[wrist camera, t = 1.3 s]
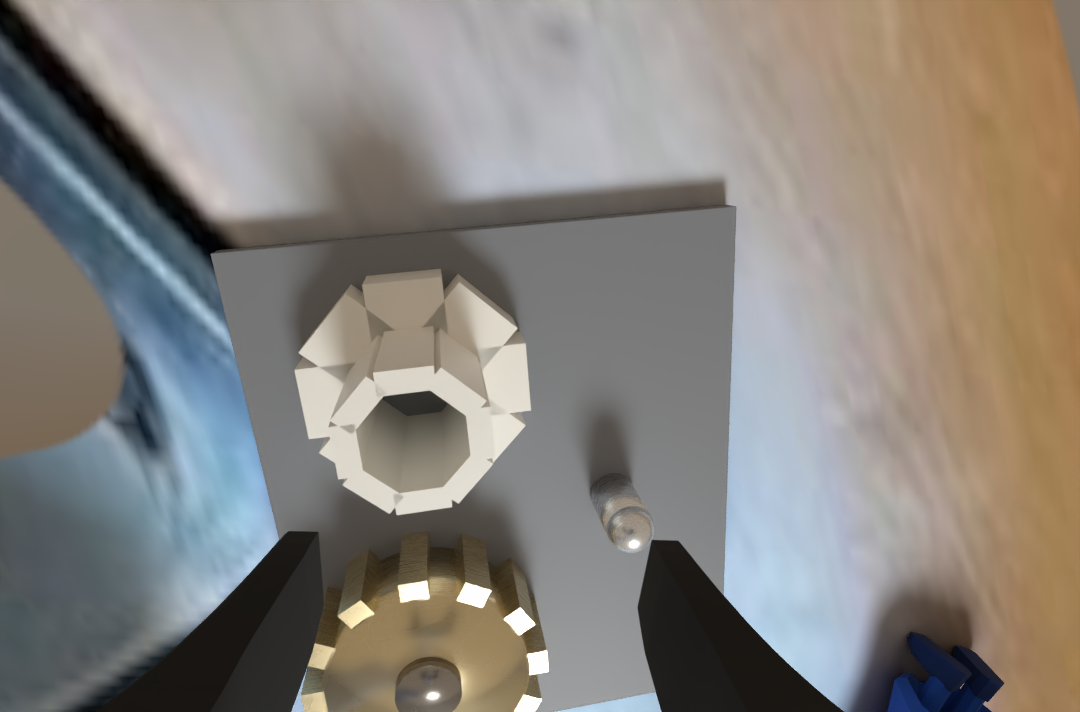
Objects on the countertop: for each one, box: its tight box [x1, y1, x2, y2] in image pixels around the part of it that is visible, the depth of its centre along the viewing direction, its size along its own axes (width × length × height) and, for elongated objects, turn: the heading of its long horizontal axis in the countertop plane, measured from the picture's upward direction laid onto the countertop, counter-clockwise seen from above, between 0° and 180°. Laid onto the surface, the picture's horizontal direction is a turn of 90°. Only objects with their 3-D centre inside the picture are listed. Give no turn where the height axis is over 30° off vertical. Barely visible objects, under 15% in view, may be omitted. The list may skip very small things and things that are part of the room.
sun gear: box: [301, 531, 549, 712], centre depth 24 cm, size 9×9×4 cm
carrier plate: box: [211, 205, 736, 712], centre depth 25 cm, size 18×22×1 cm
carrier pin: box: [590, 473, 654, 553], centre depth 24 cm, size 2×2×3 cm
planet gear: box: [294, 269, 531, 515], centre depth 20 cm, size 8×8×6 cm
